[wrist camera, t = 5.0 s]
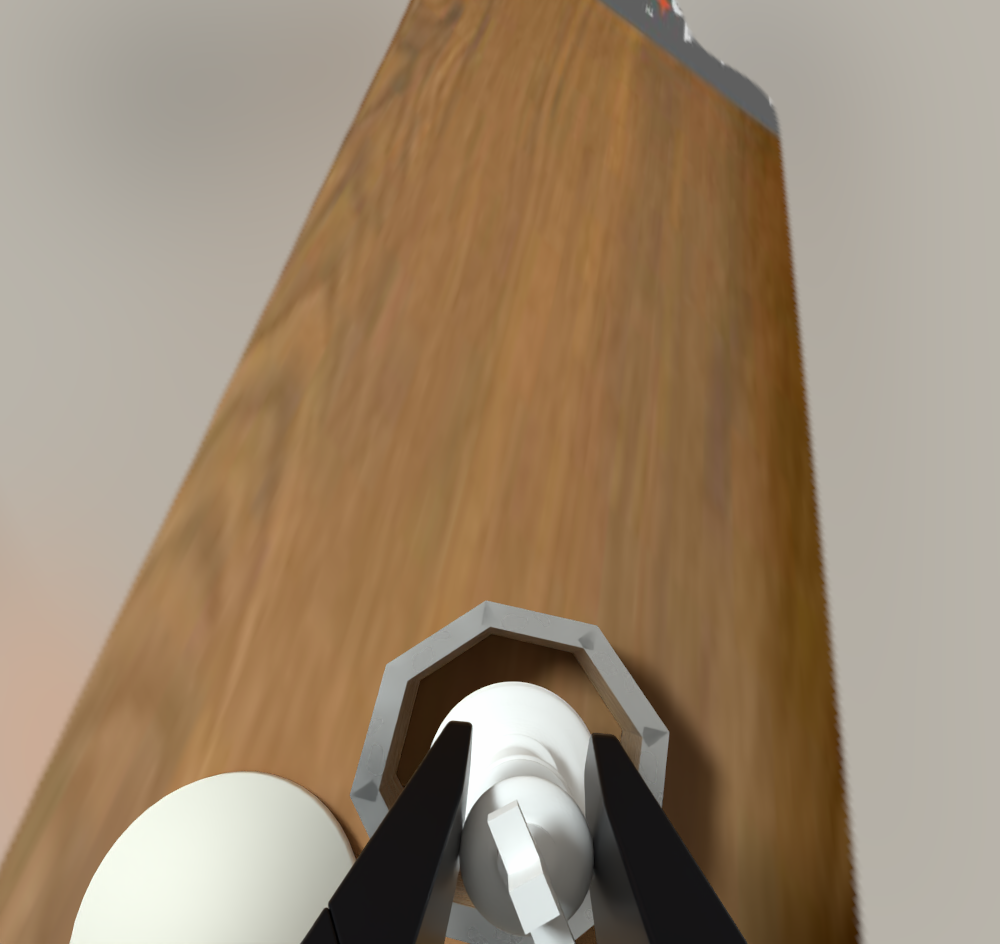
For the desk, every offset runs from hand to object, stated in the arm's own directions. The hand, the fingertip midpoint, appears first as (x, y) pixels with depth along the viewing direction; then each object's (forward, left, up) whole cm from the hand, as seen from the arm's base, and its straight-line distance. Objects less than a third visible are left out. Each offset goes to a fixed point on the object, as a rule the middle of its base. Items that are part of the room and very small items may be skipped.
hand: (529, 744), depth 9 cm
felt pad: (-8, +8, -11) cm, 16 cm away
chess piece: (-1, 0, -7) cm, 7 cm away
